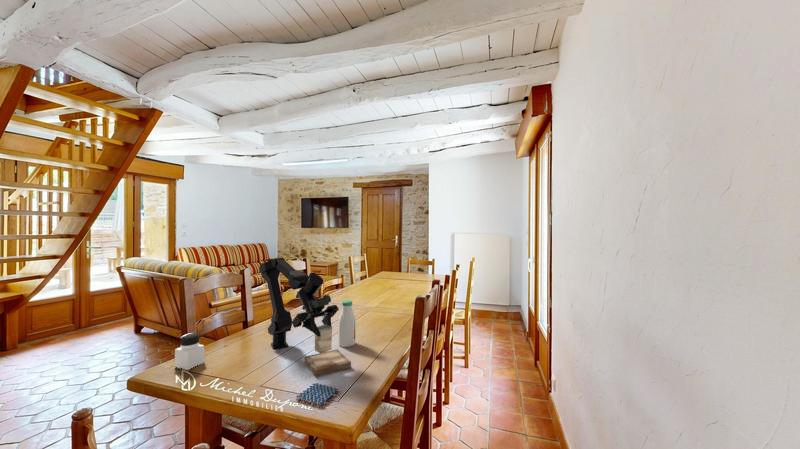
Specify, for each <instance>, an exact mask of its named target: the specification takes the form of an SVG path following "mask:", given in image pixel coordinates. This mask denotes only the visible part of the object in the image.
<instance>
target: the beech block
mask: <svg viewBox="0 0 800 449" xmlns="http://www.w3.org/2000/svg"><path fill="white" fill-rule="evenodd" d="M317 328H318V330H319V332H320V336H319V337H318V336H317V335H316V334H314V351H315V352H316V353H324V352H328V351H332V347H333V346H332V344H333V338H332V335H333V326H332V325H331V326H329V325H326V324H325V325H324V324H322V325H319V326H317Z"/></svg>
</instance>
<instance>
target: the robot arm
mask: <svg viewBox="0 0 800 449" xmlns="http://www.w3.org/2000/svg"><path fill="white" fill-rule="evenodd" d="M258 270H259V272H260V274H261V277H262V278H263V280H265V281H266V283H267V289H268V292H269V293H268V294H269V298H270V302H271V303H270V304H271V306H272V308H271V309H272V311H273V312H272V315H271V318H270V321H271V323H270V324H269V325H268V328H267V333H268V334H269V335H271V336H272V342H270V346H271V348H272V349H273V350H276V349H281V348H285V347H286V348H287V347H289V344H288V343H287V332H291V330H292V326H293V328H298V327H302V328H305V329H306V330H308V331H310V332H312V333H313V334H314V335H315V334H316V335H317V336H318V337H319V336H320V332H319V330H318V328H317V327H318V326H317V324H316V322H315V319H316V318H319V317H321V318H322V319H321V322H322V325H325V324H326V325H329V326H332V317H334V316H335V315H336V314H337V312H338V311H339V310H340V308H339V307H338V305H337V304H331V305H329V303H331V302H332V299H331V296H330V294H324V295H323V296H322V297H316V296H315V294H316V293H318V291H319V290H320V289H321V287H322V286H323V284H324V278H323V277H321V276H320V275H319V274H316V273H315V272H310V273H309V275H308V274H307V273H305V272H303V271H298V270H297V269H295V268H294V267H293V266H292V265H291V264H290V263H289V262H287V261H286V259H285V258H284V257H275V258H272V259H270V260H267V261H265V262H261V264H260V265H259V269H258ZM281 274H282V275H283V276H284V277H285V278H286V279H287V280H288V281H287V283H288V285H289V287H290V288H291V289H292V290H293V291H295V290H298V291H297V292H296V295H295V298H296V299H299V300H300V302H301V304H302V307H301V309H302V310H304V311H303V312H299V313H297V314H296V315H295V317H294V318H292V315H291V311H289V310H287V309H286V308H285V304H284V300H283V296H282V290H281V287H280V282H279V277H280V275H281ZM325 306H327V307H326V309H325Z"/></svg>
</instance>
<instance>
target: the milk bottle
mask: <svg viewBox="0 0 800 449" xmlns="http://www.w3.org/2000/svg"><path fill="white" fill-rule="evenodd" d="M341 304H342V305H341V307H342V310H341V312H340V314H339V318H338V342H337V343H338V345H339V347H342V348H349V347H353V346H355V344H356V315H355V313H354V311H353V301H352V300H343V301H342V302H341Z"/></svg>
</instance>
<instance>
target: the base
mask: <svg viewBox="0 0 800 449" xmlns="http://www.w3.org/2000/svg"><path fill="white" fill-rule="evenodd" d="M304 365H306V366H307V368H308V369H309V371H310V372H311V374H312V375H313V376H314V378H318V377H319V378H320V377H322V376H327V375H330V374H335V373H338V372H342V371H345V370H348V369H351V368H352V361H351V360H350V359H349V358H347V356H345V354H344V353H343V352H341V351H340V349H333V350H329V351H326V352H324V353H319V352H317V353H314V354H311V355H306V356H304Z"/></svg>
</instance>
